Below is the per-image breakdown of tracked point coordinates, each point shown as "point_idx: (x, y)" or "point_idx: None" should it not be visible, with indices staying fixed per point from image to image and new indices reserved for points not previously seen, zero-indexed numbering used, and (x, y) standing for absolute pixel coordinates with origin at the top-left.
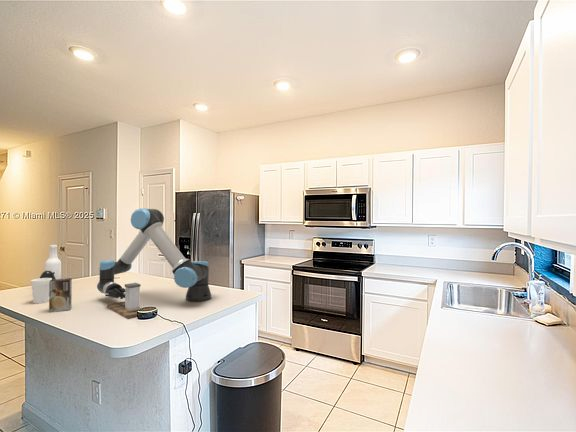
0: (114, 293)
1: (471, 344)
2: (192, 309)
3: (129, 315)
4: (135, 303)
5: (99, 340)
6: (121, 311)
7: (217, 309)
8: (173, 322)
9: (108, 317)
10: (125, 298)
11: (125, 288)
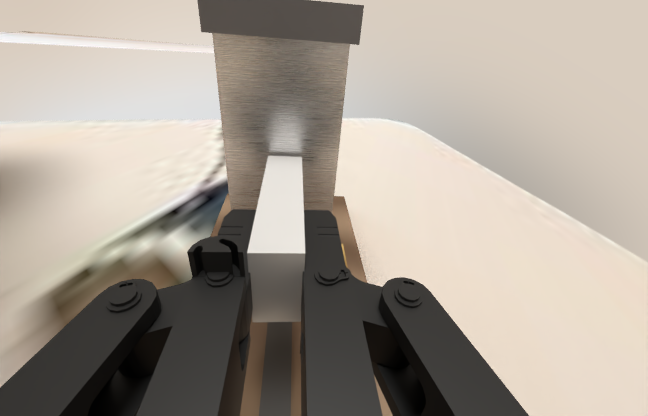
0: (482, 369)
1: (119, 44)
2: (51, 160)
3: (335, 198)
4: None
5: (446, 147)
6: (354, 276)
7: (25, 128)
8: None
9: (441, 289)
10: (334, 184)
11: (346, 70)
